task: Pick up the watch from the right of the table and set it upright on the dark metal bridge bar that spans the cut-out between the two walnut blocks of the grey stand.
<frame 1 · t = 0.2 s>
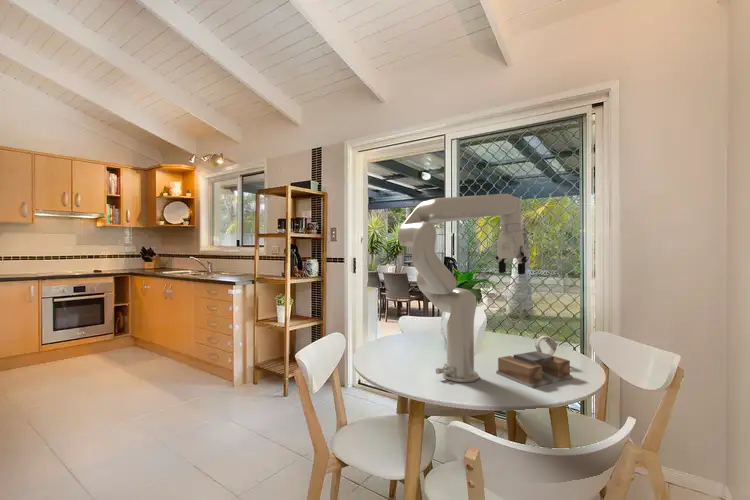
hand: (511, 273, 144), 36 cm above the table, tool pointing down, fingers open, 9 cm apart
watch stand: (533, 375, 133), on the table
watch: (545, 364, 148), on the table
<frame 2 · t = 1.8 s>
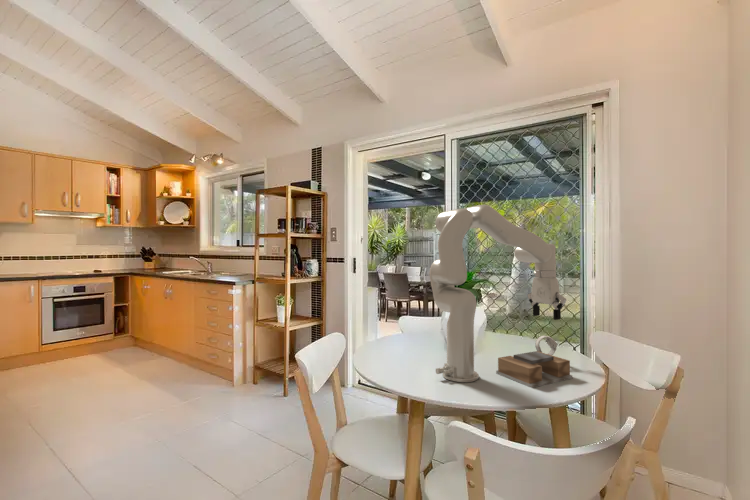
hand: (546, 317, 148), 18 cm above the table, tool pointing down, fingers open, 9 cm apart
nothing on the table moved.
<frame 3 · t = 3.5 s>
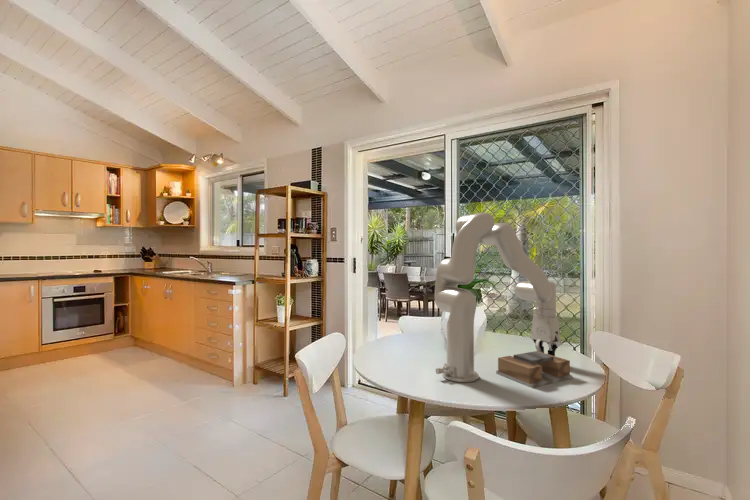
hand: (545, 357, 148), 2 cm above the table, tool pointing down, fingers open, 4 cm apart
watch: (545, 364, 148), on the table, touching gripper
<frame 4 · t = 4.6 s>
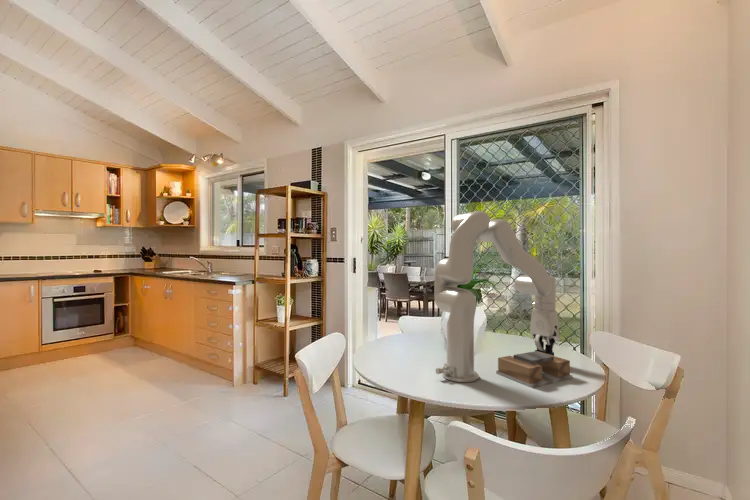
hand: (544, 352, 147), 5 cm above the table, tool pointing down, fingers closed on watch, 3 cm apart
watch: (544, 359, 147), point 2 cm above the table, touching gripper
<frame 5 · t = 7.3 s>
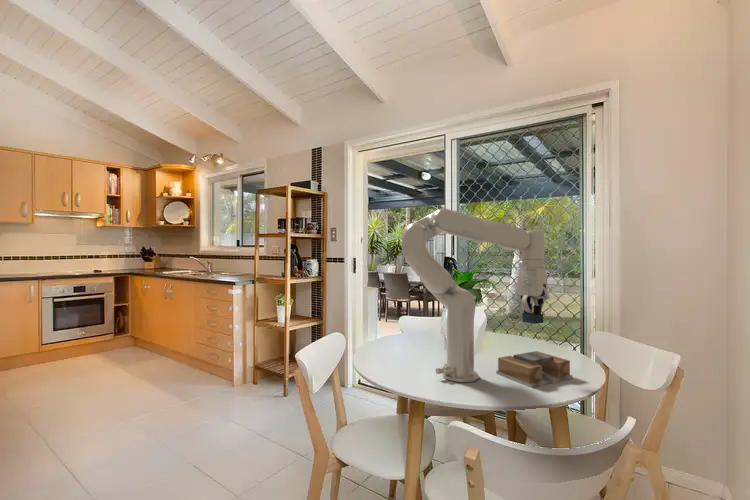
hand: (532, 314, 134), 22 cm above the table, tool pointing down, fingers closed on watch, 3 cm apart
watch: (533, 322, 134), point 19 cm above the table, touching gripper
when the fingers open (11 cm above the table, at t = 10.1 s): watch moves 2 cm, point 7 cm above the table.
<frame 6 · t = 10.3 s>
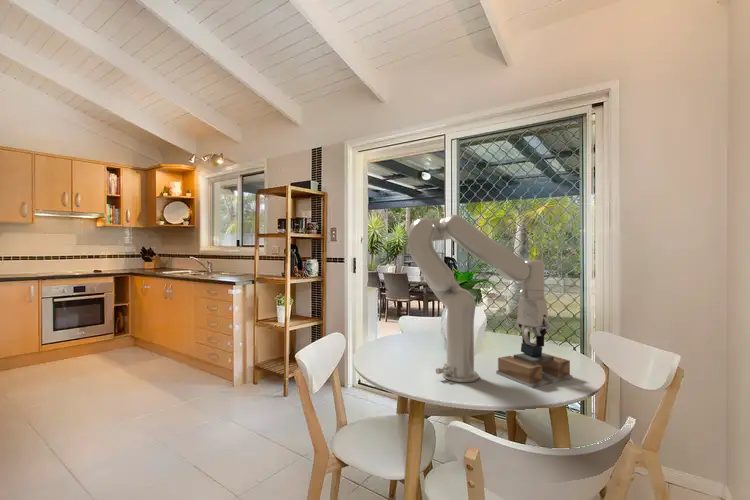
hand: (533, 344, 133), 11 cm above the table, tool pointing down, fingers open, 5 cm apart
watch: (531, 354, 135), point 7 cm above the table, touching gripper
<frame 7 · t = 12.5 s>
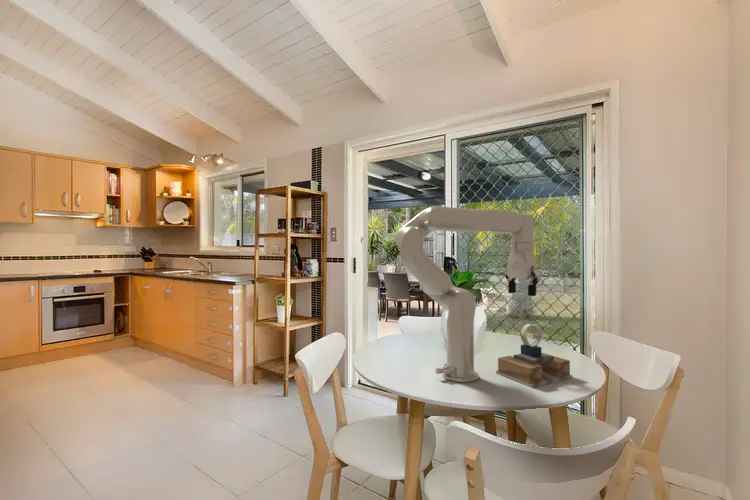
hand: (521, 294, 137), 29 cm above the table, tool pointing down, fingers open, 9 cm apart
watch: (531, 355, 135), point 7 cm above the table, touching watch stand
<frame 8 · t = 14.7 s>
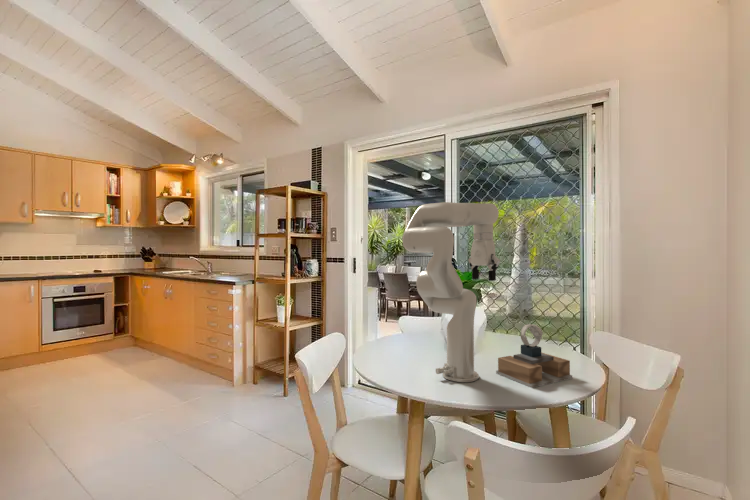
hand: (483, 279, 151), 33 cm above the table, tool pointing down, fingers open, 9 cm apart
nothing on the table moved.
at the end: watch inside the target area on the watch stand (1.6 cm from its centre), point 7.0 cm above the watch stand's base; watch tilted 0°; the gripper is holding nothing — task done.
